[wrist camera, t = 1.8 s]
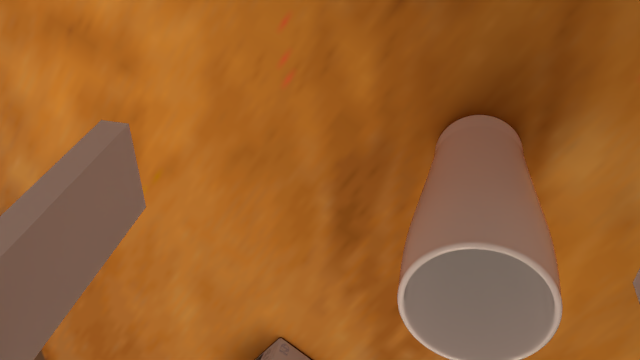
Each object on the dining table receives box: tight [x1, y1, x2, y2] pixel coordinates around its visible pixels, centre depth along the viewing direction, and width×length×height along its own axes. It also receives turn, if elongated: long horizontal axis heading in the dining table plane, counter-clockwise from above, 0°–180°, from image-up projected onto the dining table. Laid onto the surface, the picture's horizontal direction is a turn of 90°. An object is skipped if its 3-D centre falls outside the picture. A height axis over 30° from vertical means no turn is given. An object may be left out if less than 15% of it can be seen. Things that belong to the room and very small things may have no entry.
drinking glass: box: [397, 115, 562, 360], centre depth 30 cm, size 7×7×15 cm
